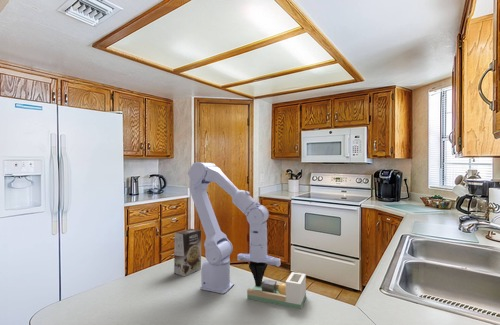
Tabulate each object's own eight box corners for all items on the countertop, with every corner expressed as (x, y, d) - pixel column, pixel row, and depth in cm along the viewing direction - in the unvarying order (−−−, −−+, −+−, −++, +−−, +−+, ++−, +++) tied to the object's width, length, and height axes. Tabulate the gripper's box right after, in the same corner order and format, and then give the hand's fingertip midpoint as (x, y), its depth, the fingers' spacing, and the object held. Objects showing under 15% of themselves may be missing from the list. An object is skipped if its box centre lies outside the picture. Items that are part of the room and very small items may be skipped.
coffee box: (185, 276, 100) (185, 234, 100) (173, 273, 103) (173, 232, 104) (201, 269, 107) (201, 229, 108) (190, 266, 111) (190, 227, 111)
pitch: (247, 298, 83) (247, 275, 83) (256, 287, 90) (256, 266, 90) (300, 309, 76) (300, 284, 76) (305, 296, 84) (305, 274, 84)
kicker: (261, 292, 84) (261, 282, 84) (264, 288, 86) (264, 279, 86) (273, 294, 82) (273, 284, 82) (276, 290, 85) (276, 281, 85)
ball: (276, 296, 81) (276, 285, 81) (279, 291, 85) (279, 280, 85) (287, 298, 80) (287, 287, 80) (290, 293, 83) (290, 282, 83)
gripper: (283, 242, 87) (283, 283, 86) (243, 238, 92) (243, 277, 92) (276, 248, 80) (277, 293, 80) (234, 243, 86) (234, 285, 86)
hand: (258, 285), depth 86 cm, fingers closed
